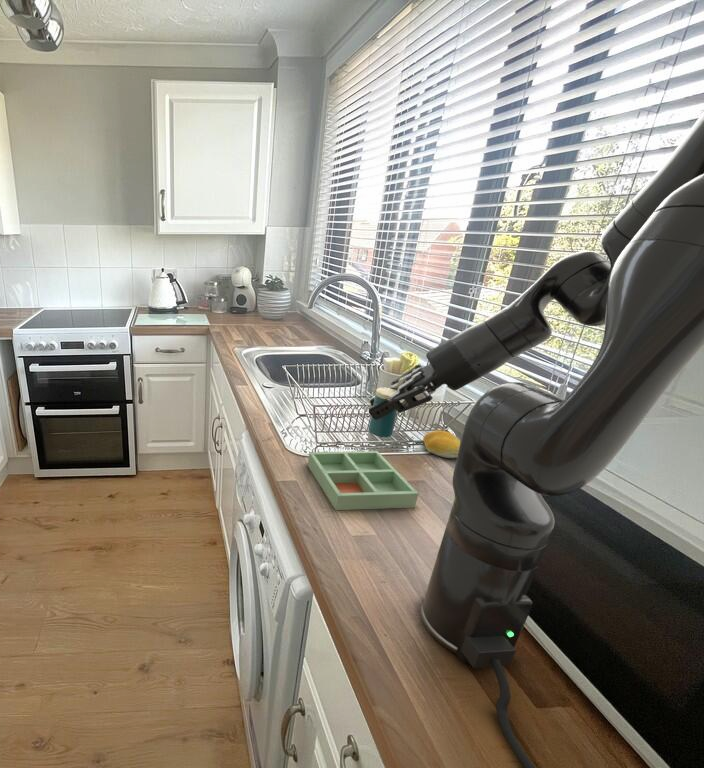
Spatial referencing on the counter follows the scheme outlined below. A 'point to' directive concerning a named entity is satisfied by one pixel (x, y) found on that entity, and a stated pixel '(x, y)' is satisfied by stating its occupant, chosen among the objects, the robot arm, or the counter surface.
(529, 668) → the counter surface
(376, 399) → the teal cream-capped cylinder
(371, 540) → the counter surface
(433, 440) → the bread roll
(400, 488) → the grid
